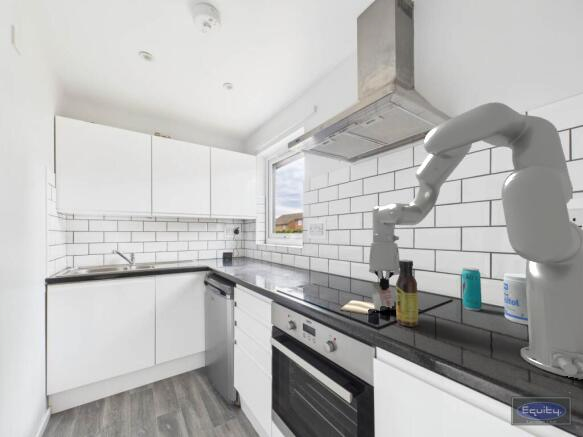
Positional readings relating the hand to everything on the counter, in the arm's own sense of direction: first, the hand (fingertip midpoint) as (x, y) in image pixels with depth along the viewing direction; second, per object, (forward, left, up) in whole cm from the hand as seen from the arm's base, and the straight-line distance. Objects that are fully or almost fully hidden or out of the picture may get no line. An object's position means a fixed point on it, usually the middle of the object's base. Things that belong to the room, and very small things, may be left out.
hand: (384, 289), depth 92 cm
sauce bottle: (-10, -9, -8) cm, 15 cm away
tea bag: (0, 0, -8) cm, 8 cm away
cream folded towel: (0, +9, -8) cm, 12 cm away
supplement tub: (+12, -41, -8) cm, 43 cm away
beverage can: (+20, -28, -8) cm, 35 cm away
